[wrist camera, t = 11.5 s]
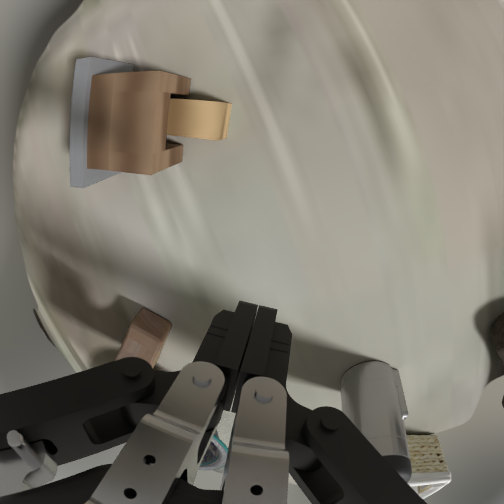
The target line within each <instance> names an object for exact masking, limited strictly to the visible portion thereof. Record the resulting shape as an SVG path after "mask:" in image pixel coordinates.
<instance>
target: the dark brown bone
mask: <svg viewBox="0 0 504 504" xmlns="http://www.w3.org/2000/svg"><path fill="white" fill-rule="evenodd" d="M491 338H492V341H493V344H494V346H495V349H496V351H497V353H498V355H499V357H500V358H501V360H502V362H503V365H504V314H503V315H501V316H500V317H498V319H497V320H496V321H495V323H494V324H493V326H492V328H491ZM502 405H503V407H504V396H503V400H502Z"/></svg>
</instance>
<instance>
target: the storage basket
mask: <svg viewBox="0 0 504 504" xmlns="http://www.w3.org/2000/svg"><path fill="white" fill-rule="evenodd" d="M406 436H407V442H408V448H409V455H410V461H411V468H412V475H411V478H410V480H409V481H408V484H409V486H410V487H411V488H412V489H413V490H414V491H415V492H416V493H417V494H418V495H419V496H420V497H421V498H422V499H424V498H426V497H428V496H429V495H431V494H433V493H435V492H436V491H438V490H439V489H441V488H442V487H443V486H445V485H446V484H448V483H449V482H450V481H451V472H450V471H448V467H447V464H446V462H445V458H444V454H443V452H442V448H441V446H440V443H439V440H438V437H437V436H436V435H406ZM440 460H441V461H440ZM428 484H429V486H427V487H425V488H424V489H422V490H421V491H420V487H419V486H421V485H428Z"/></svg>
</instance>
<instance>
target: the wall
mask: <svg viewBox="0 0 504 504" xmlns="http://www.w3.org/2000/svg"><path fill="white" fill-rule="evenodd" d="M123 72H134V64H129V63H124V62H119V61H113V60H107V59H101V58H95V57H86V58H81V59H76V64H75V72H74V81H73V91H72V103H71V119H70V187H77V188H85V187H88V186H90V185H92V184H94V183H97V182H99V181H101V180H104V179H106V178H109V177H111V176H114V175H116V174H119V173H121V172H118V171H108V170H98V169H87V132H88V113H89V100H90V89H91V79H92V75H101V74H111V73H123Z"/></svg>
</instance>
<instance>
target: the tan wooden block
mask: <svg viewBox="0 0 504 504" xmlns="http://www.w3.org/2000/svg"><path fill="white" fill-rule="evenodd" d="M231 105H232V104H230V103H224V102H214V101H203V100H189V99H170V105H169V114H168V124H167V135H173V136H183V137H193V138H202V139H210V140H221V139H224V138H227V133H228V126H229V119H230V112H231Z"/></svg>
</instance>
